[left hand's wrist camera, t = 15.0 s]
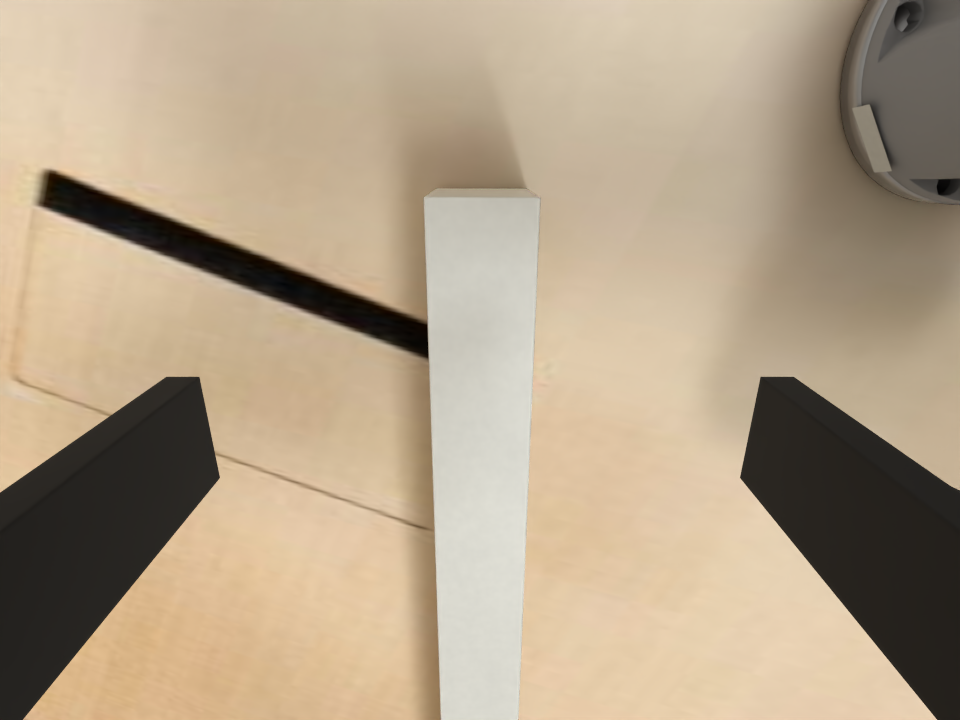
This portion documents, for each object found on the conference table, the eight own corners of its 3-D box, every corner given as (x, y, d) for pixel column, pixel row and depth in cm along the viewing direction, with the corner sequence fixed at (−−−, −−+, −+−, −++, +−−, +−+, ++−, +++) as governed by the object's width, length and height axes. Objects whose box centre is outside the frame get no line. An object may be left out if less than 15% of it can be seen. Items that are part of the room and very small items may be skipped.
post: (435, 188, 33) (423, 196, 25) (527, 188, 33) (541, 197, 25) (453, 918, 61) (450, 1018, 54) (502, 918, 61) (505, 1018, 54)
